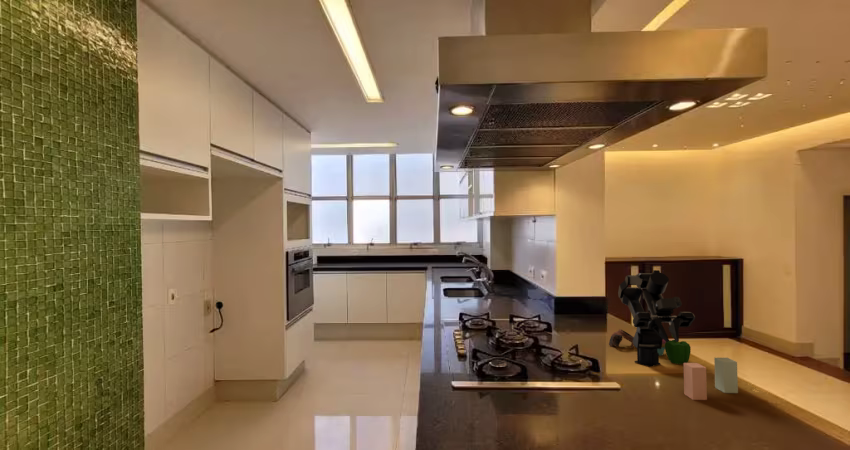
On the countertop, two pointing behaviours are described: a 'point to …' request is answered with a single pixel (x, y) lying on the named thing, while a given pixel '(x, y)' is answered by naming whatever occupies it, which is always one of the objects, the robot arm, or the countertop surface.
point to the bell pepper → (677, 351)
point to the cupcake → (662, 348)
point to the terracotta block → (695, 381)
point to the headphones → (620, 338)
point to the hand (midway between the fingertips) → (672, 341)
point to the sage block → (726, 375)
